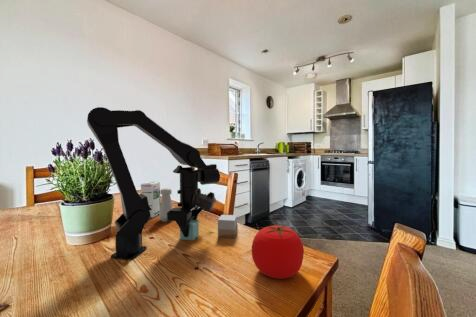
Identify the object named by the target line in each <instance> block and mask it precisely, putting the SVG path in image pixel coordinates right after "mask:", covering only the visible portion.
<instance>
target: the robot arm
mask: <svg viewBox="0 0 476 317" xmlns="http://www.w3.org/2000/svg"><path fill="white" fill-rule="evenodd" d="M86 123H87V126H88V128H89V129H90V131H91V133H92V134H93V136H94V137H95V138H96V140H97V142H98V143H99V144H100V146H101V147H102V150H103V152H104V155H105V157H106V158H105V159H106V160H107V163H108V165H109V168H110V171H111V173H112V175H113V176H112V177H114V178H113V179H114V181H115V183H116V186H117V189H118V191H119V194H120V199H121V209H122V213H121V215H120V216H119V217H117V219H116V220H115V221H114V224H115V227H116V229H117V230H118V231H117V232H116V234H115V252H114V253H112V254H111V255H110V258H111V259H112V258H113V259H123V260H133V259H135V258H136V257H138V256H139V255H140V254H141V253H143V252H144V251H146V249H147V248H148V247H147V246H145V245H144V246H143V230H144V228H145V225H146V224H147V223H148V221H149V220H150V218H151V217H150V211H149V210H152V209H151V208H150V207H149V204H148V199H147V196H145V195H144V194H142V193H141V192H140V194H139V193H138V191H137V188H136V186H135V183H134V180H133V177H132V175H131V172H130V169H129V166H128V164H127V161H126V158H125V156H124V154H123V150H122V148H121V145H120V142H119V140H120V139H119V129H118V128H127V127H136V128H137V129H138V130H140V131H141V132H142V133H144V134H146V135H147V136H148V137H149V138H150V139H152V140H154V141H155V142H156V143H158V144H160V145H161V146H162V147H163V148H165V149H166V150H168V152H169V153H170V154H171V155H172V157H173V158H174V159H175V160H176V161H177V162H178V163H179V165H177V167H175V169H173V170H172V173H174V174H179V189H178V190H177V195H179V202H177V207H173V209H171V210H170V211H169V212H168V213H167V220H168V221H169V222H175V223H176V225H177V226H178V228H179V231H180V230H181V231H182V233H183V235H184V237H188V234H189V227H190V221H191V220H198V218H199V215H200V213H201V212H203V211H206V212H210V211H211V210H212V209H214V207H215V203H216V202H217V198H216V195H215V193H214V192H212V191H210V192H209V193H202V189H201V188H199V184H200V185H202V186H203V185H212V184H213V185H214V184H218V183H220V180H221V173H220V170H219V168H218V167H217V164H216V163H215V164H214V163H213V164H212V163H210V164H206V163H205V162H204V160H203V158H202V157H201V151H199V149H198V148H196V147H194V146H192V145H190V144H189V143H186V142H183V141H181V140H179V139H177V138H176V137H175V136H173V135H172V134H171V133H170V132H168V130H166V129H164V128H163V127H162V126H161V125H159V124H158V123H157V122H155V121H154V120H153V119H152V118H150V117H149V116H147V114H145V112H144V111H142V110H140V109H136V110H121V109H119V110H118V109H117V110H110V109H108V108H107V107H103V106H101V107H99V106H97V107H94V108H92V109H91V110H90V111H89V112H88V114H87V119H86ZM180 164H181V165H180ZM182 165H183V166H186V167H183V166H182ZM187 166H188V167H187ZM194 168H195V169H194Z"/></svg>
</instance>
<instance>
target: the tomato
mask: <svg viewBox="0 0 476 317" xmlns="http://www.w3.org/2000/svg"><path fill="white" fill-rule="evenodd" d="M304 249H305V248H304V244H303V241H302V240H301V237H300V236H299V234H298V233H297V232H296V231H294V229H292V228H290V227H287V226H285V225H280V224H278V225H277V224H276V225H269V226H268V225H267V226H265V227H263V228H261V229H259V230H258V232H257V233H256V234H255V236H254V237H253V239H252V245H251V257H252V260H253V262H254V265H255V266H256V268H257V269H258V270H259V272H261V274H264V275H265V276H267V277H268V278H269V277H270V278H272V279H277V280H280V279H281V280H283V279H284V280H285V279H288V278H291V277H293V276H295V275H296V274H297V273H298V272H299V271H300V270H301V267H302V264H303V260H304V251H305V250H304Z"/></svg>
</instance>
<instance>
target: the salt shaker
mask: <svg viewBox="0 0 476 317" xmlns="http://www.w3.org/2000/svg"><path fill="white" fill-rule="evenodd" d="M172 192H173V191H172V189H171V187H170V188H169V187H164V188H162V189H161V188H160V196H161V198H160V202H161V205H160V211H159V215H158V217H159V220H160V221H161V222H163V223H167V221H168V220H167V213H168V212H169V211H170V210H171V209H173V208H174V207H173V204H172V203H173V202H172V199H171V198H172V197H171V195H172Z"/></svg>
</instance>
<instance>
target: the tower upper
mask: <svg viewBox="0 0 476 317" xmlns="http://www.w3.org/2000/svg"><path fill="white" fill-rule="evenodd" d="M237 224H238V215H236V214H235V215H234V214H221V215H220V216H219V217H218V219H217V230H218V229H227V230H235V228H236V226H237Z"/></svg>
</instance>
